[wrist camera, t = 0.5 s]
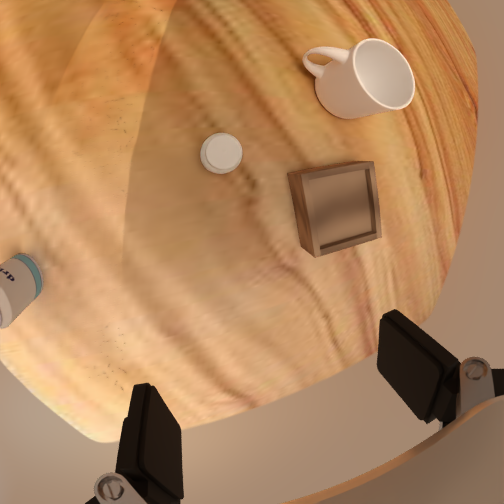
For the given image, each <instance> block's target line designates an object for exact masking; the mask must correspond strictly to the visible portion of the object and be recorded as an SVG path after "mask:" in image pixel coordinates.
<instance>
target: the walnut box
mask: <svg viewBox="0 0 504 504" xmlns="http://www.w3.org/2000/svg"><path fill="white" fill-rule="evenodd" d="M287 174H288V179H289V184H290V189H291V194H292V199H293V204H294V210H295V215H296V221H297V226H298V232H299V238H300V243H301V247H302V248H304V249H305V250H306V251H307V252H309V253H310V254H311V255H312V256H313V257H315V258H316V257H319V256H323V255H326V254H329V253H333V252H336V251H339V250H342V249H346V248H349V247H352V246H355V245H359V244H362V243H365V242H368V241H372V240H375V239H378V238H381V237H382V232H381V219H380V208H379V199H378V190H377V182H376V174H375V167H374V162H373V161H351V162H345V163H339V164H333V165H327V166H322V167H316V168H311V169H306V170H301V171H296V172H291V173H287Z"/></svg>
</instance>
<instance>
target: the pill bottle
mask: <svg viewBox="0 0 504 504" xmlns="http://www.w3.org/2000/svg"><path fill="white" fill-rule="evenodd" d="M242 154H243V151H242V146H241V144H240V142H239V141H238V140H237V139H236V138H235V137H234V136H232V135H230V134H228V133H216V134H213V135H211V136H209V137H208V138H207V139H206V140H205V141H204V143H203V145H202V147H201V151H200V159H201V162H202V164H203V166H204V167H205V168H206V169H207V170H208V171H210V172H213V173H217V174H225V173H228V172H231V171H233V170H234V169H235V168H236V167H237V166H238V165H239V164H240V162H241V159H242Z"/></svg>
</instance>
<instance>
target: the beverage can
mask: <svg viewBox="0 0 504 504" xmlns="http://www.w3.org/2000/svg"><path fill="white" fill-rule="evenodd" d="M42 289H43V275H42V271H41V269H40V267H39V265H38V264H37V262H36V261H35V260H34V259H33V258H32V257H31V256H29V255H27V254H24V253H19V254H17V255H15V256H14V257H12V258H10V259H9V260H7V261H6V262H4V263H2V264H1V265H0V328H6V327H8V326H9V325H10V324H11V323H12V322H13V321H14V320H15V319H16V318H17V317H18V316H19V314H20V313H21V312H22V311H23V310H24V309H25V308H26V307H27V306H28V305H29V304H30V303H31V302H32V301H33V300H34V299H35V298H36V297H37V296H38V295H39V294H40V293H41V291H42Z"/></svg>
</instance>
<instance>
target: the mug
mask: <svg viewBox="0 0 504 504" xmlns="http://www.w3.org/2000/svg"><path fill="white" fill-rule="evenodd" d="M310 54H320V55H324V56H327V57H330V58H332V59H333V60H332V61H330V62H329V63H327V64H326V65H325V66H322V65H318V64H314V63H312V62H310V61H308V59H307V56H308V55H310ZM303 64H304V66H305V67H306V69H307V70H308V71H309V72H310V73H312V74H313V75H314V76H316V79H315V90H316V94H317V97H318V99H319V101H320V102H321V104H322V105H323V106H324V108H325V109H326V110H327V111H329V112H330V113H331V114H333V115H335V116H337V117H339V118H343V119H355V118H360V117H364V116H369V115H373V114H378V113H383V112H388V111H393V110H398V109H402V108H404V107H406V106H407V105H408V104H409V103H410V102H411V100H412V98H413V96H414V92H415V81H414V76H413V73H412V70H411V68H410V66H409V64H408V62H407V60H406V59H405V58H404V56H403V55H402V54H401V53H400V52H399V51H398V50H397V49H396V48H395V47H394V46H392V45H391V44H389V43H387V42H385V41H383V40H379V39H374V38H371V39H365V40H362V41H361V42H359V43H358V44H356V45H354V46H353V47H351V48H350V49H348V50H345V49H341V48H335V47H316V48H312V49H310V50H308V51H307V52H306V53H305V54H304V56H303Z"/></svg>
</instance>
